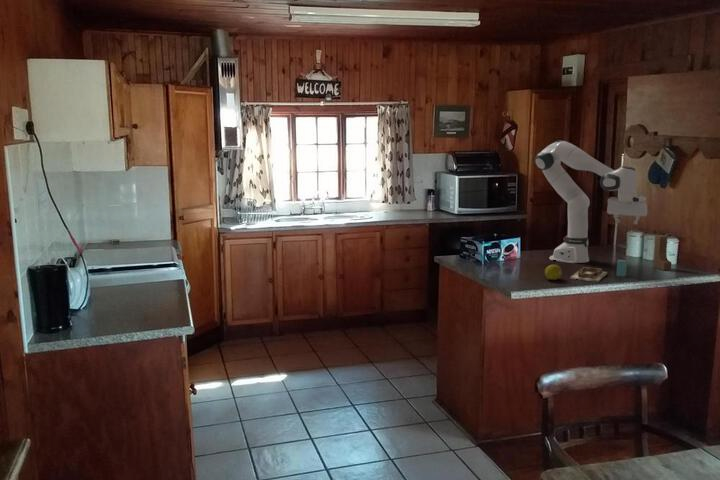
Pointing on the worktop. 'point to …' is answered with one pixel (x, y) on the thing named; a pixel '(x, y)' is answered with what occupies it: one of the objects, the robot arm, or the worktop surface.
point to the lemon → (553, 272)
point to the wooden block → (661, 253)
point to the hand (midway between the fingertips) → (626, 223)
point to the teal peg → (621, 268)
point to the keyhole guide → (589, 274)
